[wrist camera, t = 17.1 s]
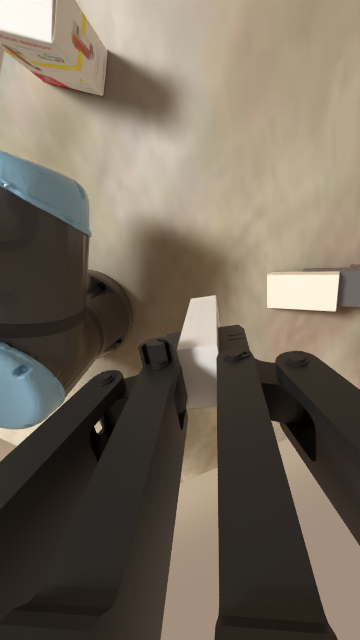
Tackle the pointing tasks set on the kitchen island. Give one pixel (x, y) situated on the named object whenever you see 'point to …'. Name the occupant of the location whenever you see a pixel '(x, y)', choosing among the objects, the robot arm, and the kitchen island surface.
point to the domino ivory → (303, 290)
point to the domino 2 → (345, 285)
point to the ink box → (54, 43)
